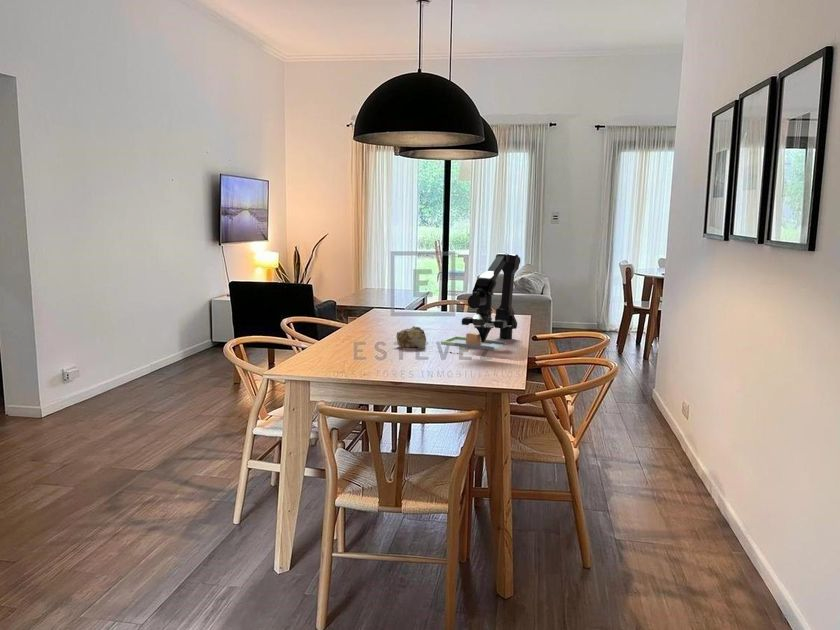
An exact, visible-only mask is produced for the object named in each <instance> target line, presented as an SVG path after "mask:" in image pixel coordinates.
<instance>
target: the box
mask: <svg viewBox="0 0 840 630" xmlns="http://www.w3.org/2000/svg"><path fill="white" fill-rule="evenodd" d="M486 343H487V344H486ZM488 343H490V344H488ZM440 345H449V346H457V347H464V348H471V349H473V348H474V349H482V350H489V351H495V350H497V349H498V348H501V347H502V346H504V345H506V341H505V340H504V341H503V340H493V339H487V338H486V340H485V342H484V343H482V340H481V344H479V345H473V344H466V336H460V335H454V336H451V337H449V338H446V339H443V340H441V341H440Z"/></svg>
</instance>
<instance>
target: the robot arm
mask: <svg viewBox="0 0 840 630" xmlns="http://www.w3.org/2000/svg"><path fill="white" fill-rule="evenodd" d="M520 264H521V257H519V255H518V254H513V253H506V252H498V253H496V255H495V258H494V260H493V261H492V262H491V265H490V266H489V267H488V269H487V270H486V271H484V273H481V274H480V275H479V276H478V277H477V279H476V281H475V283H474V287H473V289H472V292H471V293H472V294H471V295H470V296H468V299H467V305H468V307H469V308H471V309H476V313H475V314H474V315H473V316H472V317H471V316H466V317H463V318H462V319H461V325H462V326H469V325H471V324H472V325H473V328H475V329H476V330H477V331H478V333H479V334H480V337H481V340H482V342H481V344H485V343H486V342H485V340H486V339H487V338H488V336H489V333H490V331H492V329H493V328H495V329H499V339H503V340H515V338H513V330H514V329H515V330H516V329H517V328H518V322H517V320H516V317H515V310H514V309H513V306H512V305H513V304H512V303H513V294H514V293H513V292H514V283H515V282H514V281H515V274H516V273H517V271H518V270H519V268H520ZM501 271H502V273H503V278H502V290H501V298H500V299H501V300H500V306H499V307H497V308H496V310H495V315H494V321H493V318H492V311H493V308H492V304H493V303H492V302H493V301H492V299H493V298H492V297H493V296H494V295H495V294H494V292H493V291H494V289H495V287H496V285H497V278H498V276H499V274H500V273H501Z"/></svg>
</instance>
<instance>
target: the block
mask: <svg viewBox="0 0 840 630" xmlns="http://www.w3.org/2000/svg"><path fill="white" fill-rule="evenodd" d="M465 335H466V336H465V337H466V344H473V345H479V344H482V342H481V337H480V334H479V332H471V331H470V332H468V333H466V334H465Z"/></svg>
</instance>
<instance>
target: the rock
mask: <svg viewBox="0 0 840 630" xmlns="http://www.w3.org/2000/svg"><path fill="white" fill-rule="evenodd" d="M396 342H397V345H398V347H402V348H413V347H414V348H418V349H423V350H424V349H426V348H427V347H426V342H427V336H426V333H425V330H424V329H422V328H421V327H418V326H414V325H413V326H412V327H411V328H406V329H402V330H400V331H398V332H396Z"/></svg>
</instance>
